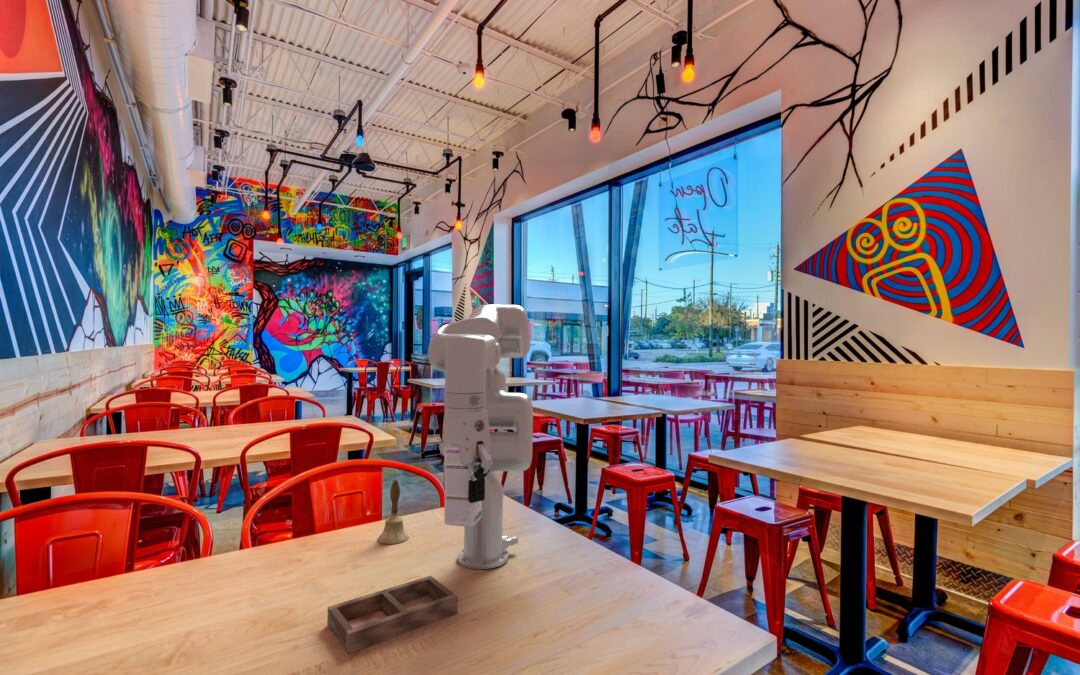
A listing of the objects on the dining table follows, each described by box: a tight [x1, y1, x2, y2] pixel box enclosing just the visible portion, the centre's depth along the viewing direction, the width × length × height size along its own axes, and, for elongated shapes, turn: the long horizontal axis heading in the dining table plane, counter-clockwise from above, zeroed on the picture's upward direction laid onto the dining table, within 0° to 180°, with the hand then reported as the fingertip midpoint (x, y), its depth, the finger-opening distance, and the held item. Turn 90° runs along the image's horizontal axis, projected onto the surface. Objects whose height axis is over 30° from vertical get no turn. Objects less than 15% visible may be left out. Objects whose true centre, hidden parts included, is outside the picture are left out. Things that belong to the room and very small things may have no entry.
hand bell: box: [377, 479, 410, 545], centre depth 142 cm, size 8×8×16 cm
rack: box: [326, 575, 459, 655], centre depth 101 cm, size 22×11×4 cm, turn 130°
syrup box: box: [443, 445, 483, 527], centre depth 97 cm, size 6×6×14 cm
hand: (463, 495), depth 97 cm, fingers closed on syrup box, 7 cm apart
